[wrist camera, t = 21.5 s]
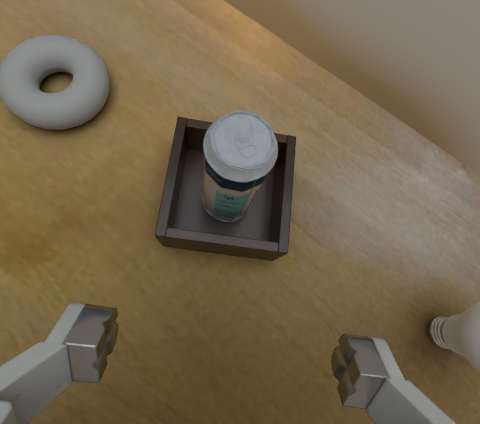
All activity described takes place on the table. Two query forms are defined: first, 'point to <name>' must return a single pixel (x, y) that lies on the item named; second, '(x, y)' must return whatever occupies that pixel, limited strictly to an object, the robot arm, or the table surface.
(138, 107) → the table surface
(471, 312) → the light bulb
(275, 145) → the beer can
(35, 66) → the donut
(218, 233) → the holder
